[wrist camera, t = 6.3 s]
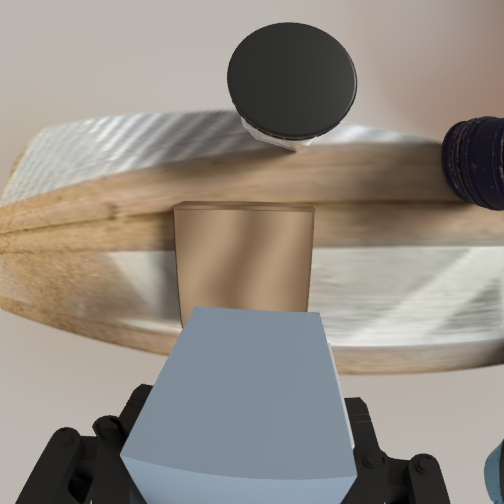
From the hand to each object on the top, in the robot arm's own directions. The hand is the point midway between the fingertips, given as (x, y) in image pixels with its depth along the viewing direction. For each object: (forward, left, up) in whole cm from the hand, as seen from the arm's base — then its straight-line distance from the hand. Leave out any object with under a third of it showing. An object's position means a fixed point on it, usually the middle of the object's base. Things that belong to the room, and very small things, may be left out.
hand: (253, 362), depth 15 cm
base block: (+2, +1, -18) cm, 18 cm away
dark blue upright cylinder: (-24, -12, -18) cm, 32 cm away
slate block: (0, 0, 0) cm, 0 cm away
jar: (-2, -15, -18) cm, 24 cm away
